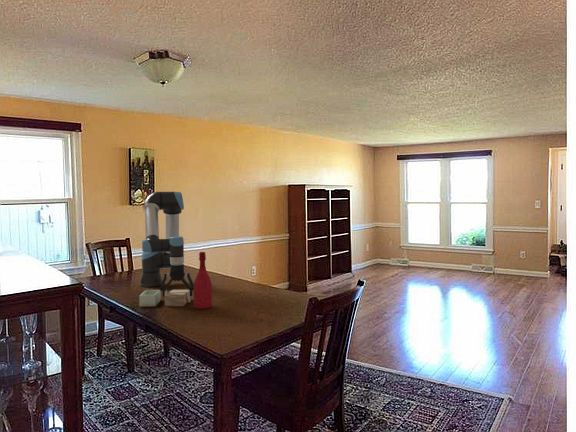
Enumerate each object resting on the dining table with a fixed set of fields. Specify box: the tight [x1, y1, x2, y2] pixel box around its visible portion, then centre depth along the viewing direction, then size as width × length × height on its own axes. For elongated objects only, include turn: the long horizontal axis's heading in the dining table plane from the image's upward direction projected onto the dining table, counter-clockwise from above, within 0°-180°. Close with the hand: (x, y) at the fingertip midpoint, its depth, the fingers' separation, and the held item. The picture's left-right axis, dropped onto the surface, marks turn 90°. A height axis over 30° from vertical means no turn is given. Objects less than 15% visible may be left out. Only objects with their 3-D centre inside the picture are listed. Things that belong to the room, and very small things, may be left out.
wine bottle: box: [193, 251, 213, 310], centre depth 229 cm, size 10×10×30 cm
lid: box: [164, 289, 189, 307], centre depth 240 cm, size 15×10×6 cm, turn 179°
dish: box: [138, 289, 162, 307], centre depth 238 cm, size 13×8×6 cm, turn 4°
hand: (177, 302), depth 240 cm, fingers open, 12 cm apart
